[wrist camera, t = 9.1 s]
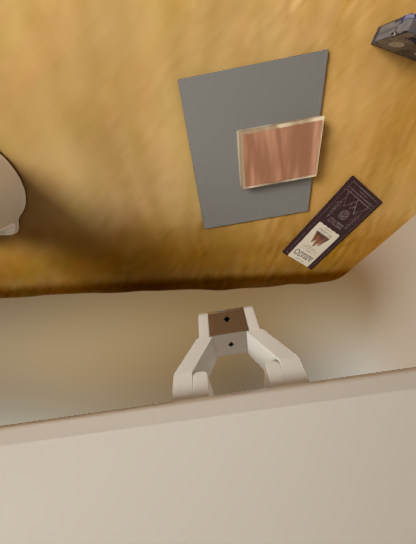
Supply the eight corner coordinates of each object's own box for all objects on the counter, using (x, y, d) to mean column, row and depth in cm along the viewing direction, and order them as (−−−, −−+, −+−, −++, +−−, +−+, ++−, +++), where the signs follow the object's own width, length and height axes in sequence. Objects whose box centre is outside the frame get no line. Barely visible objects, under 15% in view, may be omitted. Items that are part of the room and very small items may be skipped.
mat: (204, 227, 42) (204, 228, 42) (177, 80, 29) (177, 79, 29) (306, 209, 42) (307, 211, 41) (326, 50, 29) (328, 49, 28)
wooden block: (243, 189, 35) (317, 176, 35) (240, 132, 30) (325, 116, 30) (240, 185, 37) (309, 172, 37) (236, 130, 33) (316, 115, 32)
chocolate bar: (382, 202, 41) (311, 269, 50) (379, 200, 42) (309, 266, 51) (353, 176, 38) (283, 252, 47) (350, 175, 39) (281, 250, 47)
